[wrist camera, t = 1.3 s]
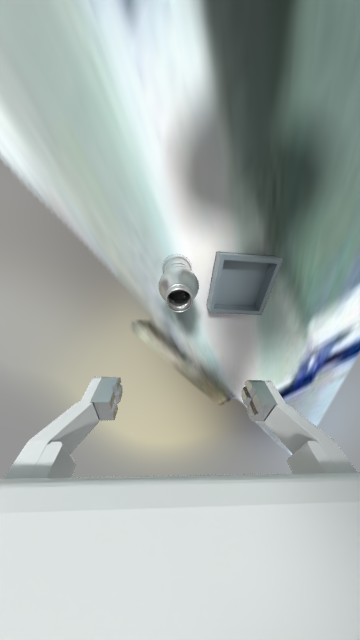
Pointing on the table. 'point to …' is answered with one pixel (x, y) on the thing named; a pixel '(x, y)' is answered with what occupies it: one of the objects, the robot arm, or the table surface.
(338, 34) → the table surface
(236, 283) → the box
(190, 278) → the plastic bottle
